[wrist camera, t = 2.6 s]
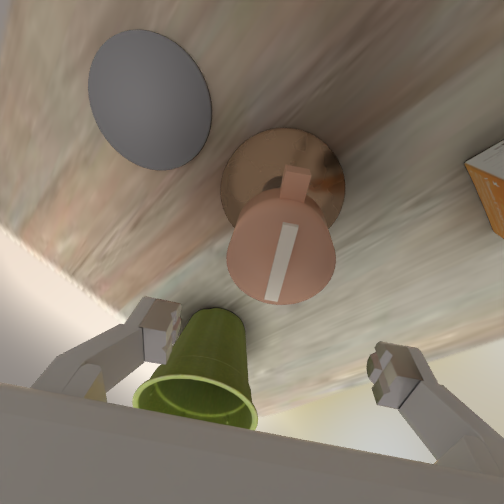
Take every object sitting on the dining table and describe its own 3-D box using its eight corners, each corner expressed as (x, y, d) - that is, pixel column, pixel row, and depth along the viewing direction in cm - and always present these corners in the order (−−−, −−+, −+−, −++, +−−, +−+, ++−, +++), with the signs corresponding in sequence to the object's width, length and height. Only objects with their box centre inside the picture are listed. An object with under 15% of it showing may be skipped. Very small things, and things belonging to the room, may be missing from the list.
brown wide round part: (230, 115, 23) (207, 129, 16) (361, 141, 23) (395, 165, 16) (217, 233, 28) (196, 279, 22) (322, 253, 28) (334, 306, 22)
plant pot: (257, 364, 39) (248, 456, 29) (173, 349, 39) (136, 436, 29) (272, 300, 32) (267, 390, 23) (172, 283, 32) (126, 365, 23)
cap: (247, 154, 16) (237, 175, 13) (346, 174, 16) (364, 199, 13) (229, 275, 21) (217, 315, 17) (306, 290, 21) (311, 333, 17)
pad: (83, 19, 20) (78, 17, 20) (217, 45, 20) (216, 44, 20) (100, 157, 26) (96, 158, 25) (206, 178, 26) (205, 179, 25)
